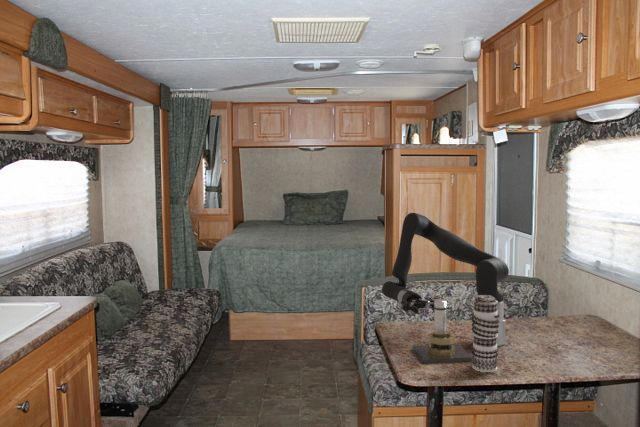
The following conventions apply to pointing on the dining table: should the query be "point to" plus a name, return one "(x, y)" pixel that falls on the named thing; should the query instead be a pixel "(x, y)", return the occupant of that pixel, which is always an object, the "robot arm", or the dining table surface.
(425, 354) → the collar stand
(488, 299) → the decorative candle
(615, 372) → the dining table surface
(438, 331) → the metal thermos flask
